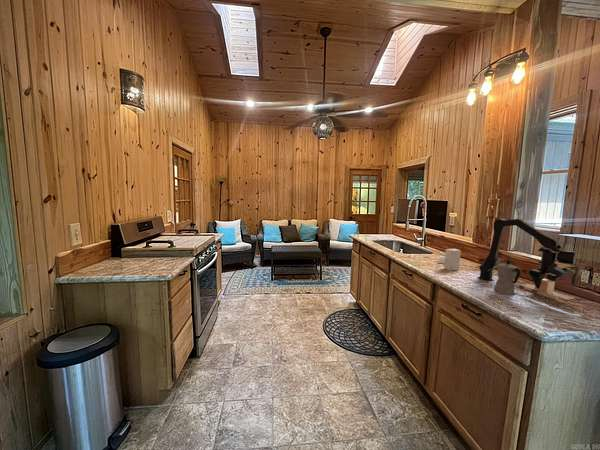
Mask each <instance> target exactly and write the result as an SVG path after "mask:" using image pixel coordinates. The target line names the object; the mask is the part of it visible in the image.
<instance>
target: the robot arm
mask: <svg viewBox="0 0 600 450" xmlns="http://www.w3.org/2000/svg"><path fill="white" fill-rule="evenodd" d="M510 226H516V227H518V228H520V229H521V230H522V231H524V232H525V233H526V234H528V235H530V236H532V237H533V238H534V239H536V240H537V241H538V242H539V244H540V245H542V247H540V248H538V249H537V251H538V252H541V260H539V261H538V263H539V264H540V266H539V267H538V268H537V269H535V268H534V269H529V270H528V271H527V275H529V276H530V277H531V279H532V282H533V283H534V285H535V286H536V288H539V287H540V284H541V281H542V279H545V276H546V277H547V278H546V279H548V280H551V281H555V282H557V280H559V279H560V278H561V279H562V278H563V279H564V278H566V276H568V275H570V274H569V273H570V269H569V268H567V267H559V265H558V263H556V261H558V262H559V263H561V264H566V265H572V266H575V264H576V263H577V262H576V261H577V251H568V250H564V248H563V247H562V246H561V245H560V240H559V239H558V238H556V237H554V236H551V235H548V234H546V233H543V232H542V231H540V230H539V229H537V228H535V227H534V226H533V225H531V224H529V223H527V222H526V221H524V220H523V219H522V218H514V219H506V218H498V219H496V220H494V221H493V227H492V228H493V237H492V240H491V245H490V249H489V254H488V255H487V256H486V258H485V260H484V262H483V263H482V264H481V265H479V266H478V269H479V270H480V273H479V276H477V277H476V278H478V279H480V280H483V281H486V282H488V281H490V282H491V281H494V280H495V279H493V273H494V270H495V268H496V269H497V264H501V263H500V262H501V260H502V259H501V258H499V252H500V248H501V244H502V240H503V236H504V233H505V232H506V231H507V229H508V227H510Z"/></svg>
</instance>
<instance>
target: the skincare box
mask: <svg viewBox="0 0 600 450" xmlns="http://www.w3.org/2000/svg"><path fill="white" fill-rule="evenodd" d="M461 254H462V250H460V249H457V248H446V249H445V254H444V257H445V262H444V263H443V269H445V270H447V271H448V272H449V271H459V270H460V262H461Z"/></svg>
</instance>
